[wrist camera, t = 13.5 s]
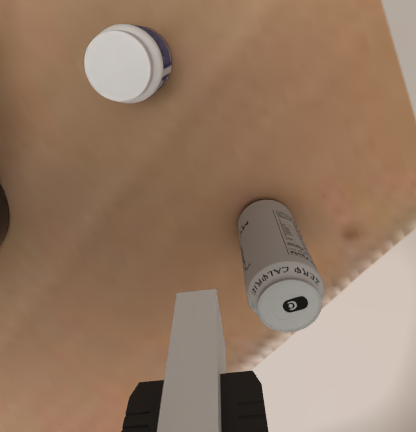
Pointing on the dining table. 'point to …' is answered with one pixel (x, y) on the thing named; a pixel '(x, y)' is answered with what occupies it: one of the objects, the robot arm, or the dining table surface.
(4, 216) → the robot arm
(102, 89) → the pill bottle
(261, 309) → the energy drink can
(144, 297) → the dining table surface
